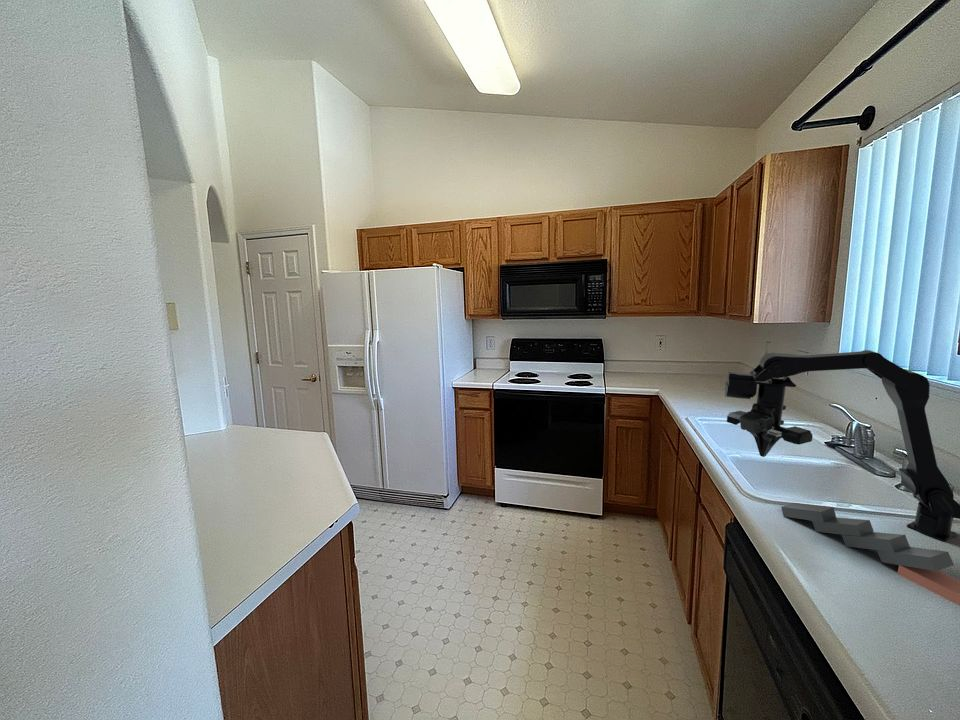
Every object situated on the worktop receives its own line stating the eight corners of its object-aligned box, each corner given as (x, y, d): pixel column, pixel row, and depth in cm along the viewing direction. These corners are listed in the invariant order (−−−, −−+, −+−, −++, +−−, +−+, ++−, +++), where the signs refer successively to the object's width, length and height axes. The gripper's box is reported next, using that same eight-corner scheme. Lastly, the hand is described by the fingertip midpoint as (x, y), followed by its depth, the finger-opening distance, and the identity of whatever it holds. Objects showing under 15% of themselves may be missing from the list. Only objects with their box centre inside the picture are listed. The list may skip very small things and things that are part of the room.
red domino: (899, 565, 80) (964, 597, 72) (913, 559, 82) (978, 589, 74) (896, 575, 81) (961, 608, 72) (910, 569, 82) (975, 600, 74)
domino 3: (841, 534, 90) (889, 539, 81) (856, 530, 91) (905, 534, 83) (846, 546, 89) (894, 552, 81) (861, 541, 90) (910, 547, 82)
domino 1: (781, 506, 101) (820, 511, 93) (793, 502, 103) (833, 507, 95) (783, 516, 101) (823, 522, 93) (795, 512, 103) (836, 517, 94)
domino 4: (876, 549, 84) (930, 557, 75) (893, 544, 85) (948, 551, 77) (881, 562, 83) (936, 570, 75) (898, 557, 84) (954, 565, 76)
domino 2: (812, 521, 95) (856, 525, 87) (825, 516, 97) (869, 520, 89) (815, 531, 95) (860, 536, 86) (828, 526, 96) (873, 531, 88)
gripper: (716, 395, 110) (710, 448, 113) (789, 415, 93) (781, 476, 96) (742, 391, 114) (736, 442, 117) (818, 409, 97) (808, 468, 100)
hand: (762, 456), depth 107 cm, fingers closed
